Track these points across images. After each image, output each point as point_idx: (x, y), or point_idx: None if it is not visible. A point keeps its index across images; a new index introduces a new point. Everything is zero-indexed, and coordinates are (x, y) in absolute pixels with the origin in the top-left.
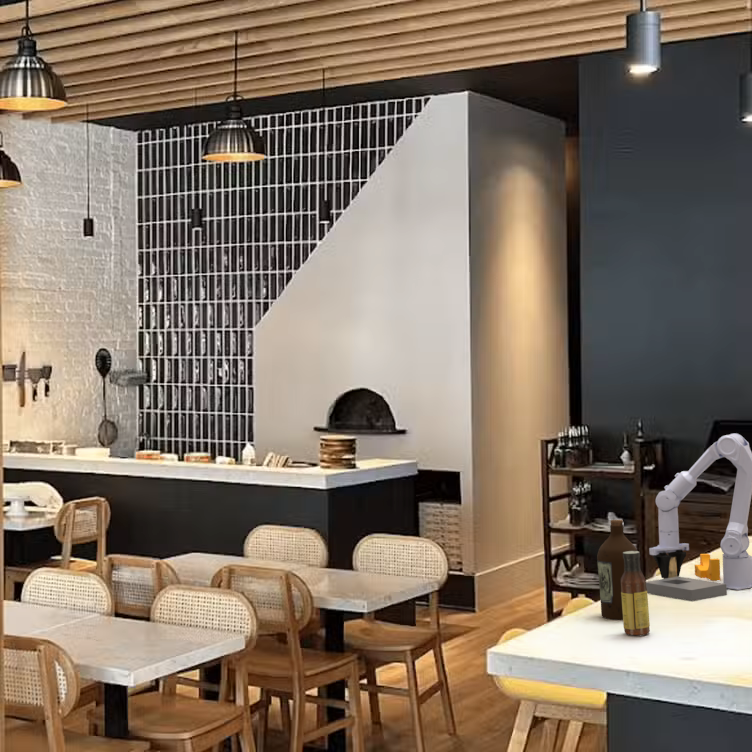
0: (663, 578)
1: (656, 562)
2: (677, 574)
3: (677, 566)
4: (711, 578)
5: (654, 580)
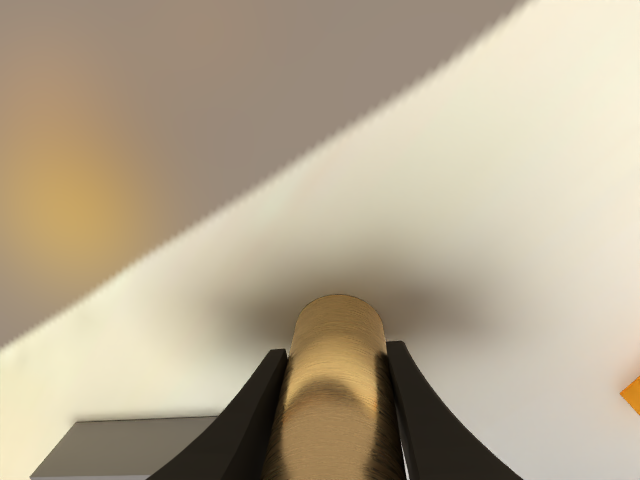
0: (297, 334)
1: (188, 445)
2: None
3: (406, 452)
4: (633, 404)
5: (107, 477)
